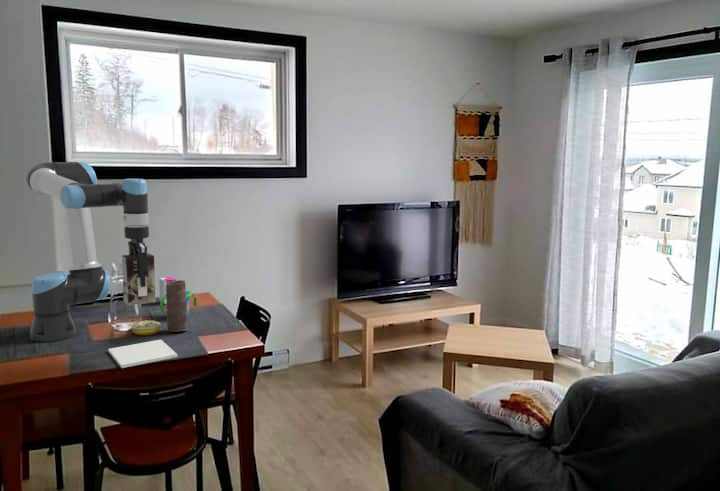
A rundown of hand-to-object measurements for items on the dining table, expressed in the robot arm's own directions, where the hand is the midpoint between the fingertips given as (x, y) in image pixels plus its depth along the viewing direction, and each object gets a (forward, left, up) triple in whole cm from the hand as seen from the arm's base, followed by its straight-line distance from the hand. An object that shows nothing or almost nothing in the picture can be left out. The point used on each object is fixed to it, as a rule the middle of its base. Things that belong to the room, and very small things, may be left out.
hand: (139, 293), depth 189 cm
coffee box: (0, 0, -3) cm, 3 cm away
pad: (0, 0, -22) cm, 22 cm away
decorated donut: (-24, +8, -22) cm, 34 cm away
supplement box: (-61, +28, -22) cm, 71 cm away
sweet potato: (-18, +18, -22) cm, 33 cm away
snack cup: (-37, +25, -22) cm, 50 cm away
